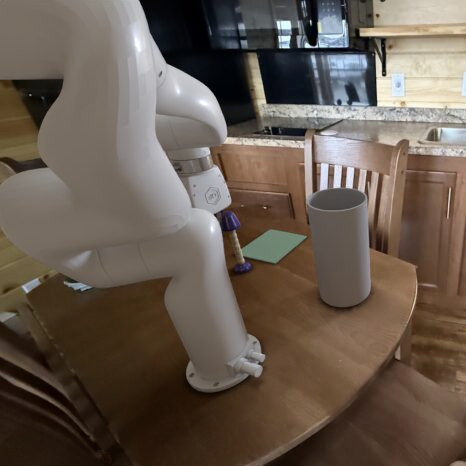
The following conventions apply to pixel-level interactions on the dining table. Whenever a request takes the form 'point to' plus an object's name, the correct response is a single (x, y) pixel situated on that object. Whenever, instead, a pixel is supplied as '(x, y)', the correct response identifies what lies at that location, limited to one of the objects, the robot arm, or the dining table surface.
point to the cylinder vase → (340, 245)
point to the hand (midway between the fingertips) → (216, 237)
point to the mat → (272, 246)
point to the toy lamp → (234, 240)
